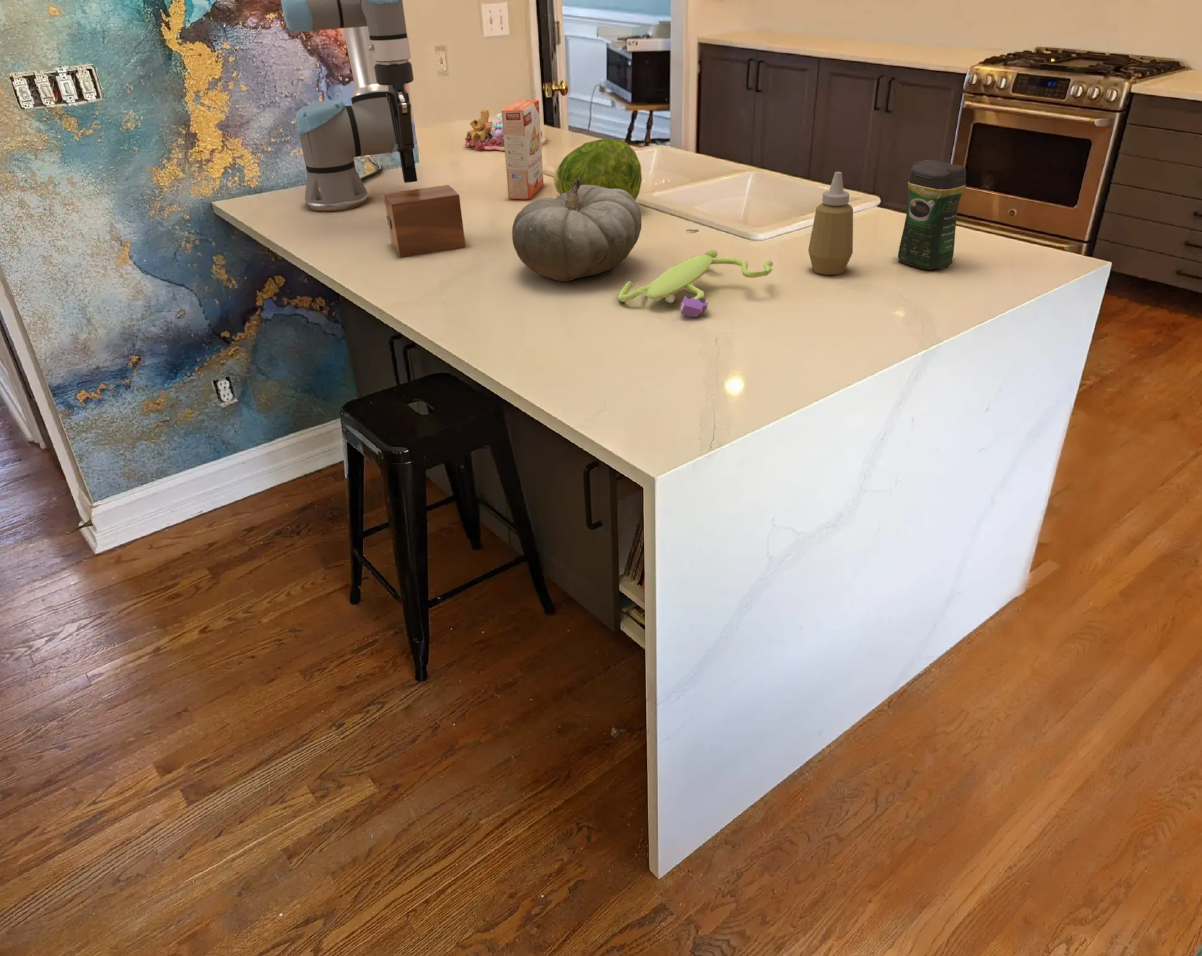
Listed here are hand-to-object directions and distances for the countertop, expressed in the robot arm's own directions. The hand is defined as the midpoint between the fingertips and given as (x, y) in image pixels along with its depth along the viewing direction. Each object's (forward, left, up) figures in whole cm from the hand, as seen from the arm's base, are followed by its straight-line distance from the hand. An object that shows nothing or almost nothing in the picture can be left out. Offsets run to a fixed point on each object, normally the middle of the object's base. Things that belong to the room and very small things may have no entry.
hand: (410, 181), depth 192 cm
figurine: (+62, +38, -12) cm, 74 cm away
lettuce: (+3, +41, -12) cm, 43 cm away
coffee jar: (+68, +83, -12) cm, 108 cm away
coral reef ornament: (-79, +44, -12) cm, 91 cm away
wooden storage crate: (+10, 0, -11) cm, 15 cm away
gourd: (+40, +23, -12) cm, 47 cm away
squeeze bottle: (+63, +65, -12) cm, 91 cm away
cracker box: (-20, +32, -12) cm, 40 cm away
